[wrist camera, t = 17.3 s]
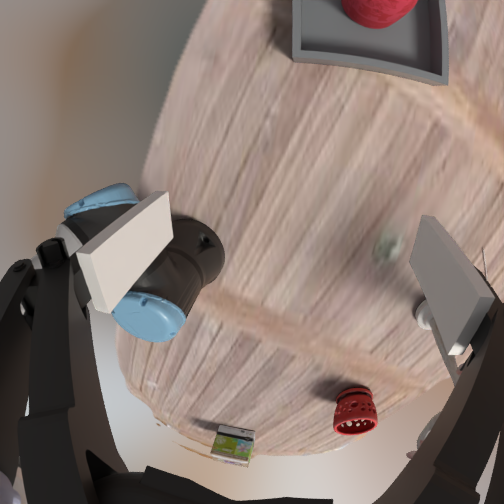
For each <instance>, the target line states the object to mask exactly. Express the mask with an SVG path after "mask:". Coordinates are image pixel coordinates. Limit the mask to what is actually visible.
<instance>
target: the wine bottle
mask: <svg viewBox="0 0 504 504" xmlns="http://www.w3.org/2000/svg"><path fill="white" fill-rule="evenodd" d="M417 1H418V0H341V3H342V6H343V9H344V11H345V12H346V14H347V15H348V16H349V17H350V18H351V19H352V20H353V21H354V22H356V23H357V24H359V25H361V26H364V27H367V28H371V29H382V28H386V27H388V26H390V25H392V24H394V23H395V22H397V21H398V20H399V19H401V18H402V17H403V16H405V15H406V14H407V13H408V12H409V11H410V10H411V9H412V8H413V7H414V6H415V5H416V3H417Z"/></svg>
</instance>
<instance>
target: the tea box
mask: <svg viewBox="0 0 504 504" xmlns="http://www.w3.org/2000/svg"><path fill="white" fill-rule="evenodd" d="M254 442H255V431H248V430H243V429H238V428H233V427H229V426H225V425H220V426H219V429H218V432H217V435H216V438H215V441H214V444H213V447H212V450H211V456H212V458H213V460H215V461H220V462H224V463H228V464H233V465H238V466H243V467H248V465H249V462H250V458H251V454H252V450H253V446H254Z"/></svg>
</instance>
